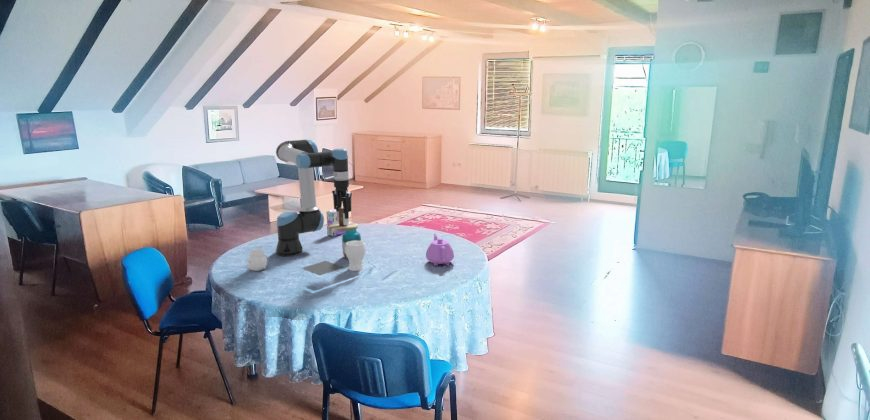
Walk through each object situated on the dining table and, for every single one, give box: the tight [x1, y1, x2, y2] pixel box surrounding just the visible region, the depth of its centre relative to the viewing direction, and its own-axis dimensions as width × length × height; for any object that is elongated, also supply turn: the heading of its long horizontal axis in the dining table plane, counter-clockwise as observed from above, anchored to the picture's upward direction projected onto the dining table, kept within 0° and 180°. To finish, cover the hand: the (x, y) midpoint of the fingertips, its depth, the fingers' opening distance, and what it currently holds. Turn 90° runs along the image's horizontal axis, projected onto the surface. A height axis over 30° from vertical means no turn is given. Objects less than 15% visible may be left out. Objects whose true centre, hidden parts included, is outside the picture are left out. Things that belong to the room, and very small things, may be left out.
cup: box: [345, 240, 366, 272], centre depth 282 cm, size 11×11×15 cm
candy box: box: [326, 208, 346, 237], centre depth 349 cm, size 14×6×16 cm, turn 147°
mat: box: [301, 260, 345, 276], centre depth 284 cm, size 16×16×1 cm
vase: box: [341, 229, 362, 260], centre depth 300 cm, size 11×11×19 cm
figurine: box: [246, 246, 268, 272], centre depth 282 cm, size 10×10×12 cm
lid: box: [329, 207, 359, 231], centre depth 277 cm, size 15×15×10 cm
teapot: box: [425, 233, 455, 267], centre depth 295 cm, size 22×16×14 cm
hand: (343, 223), depth 277 cm, fingers closed on lid, 4 cm apart
